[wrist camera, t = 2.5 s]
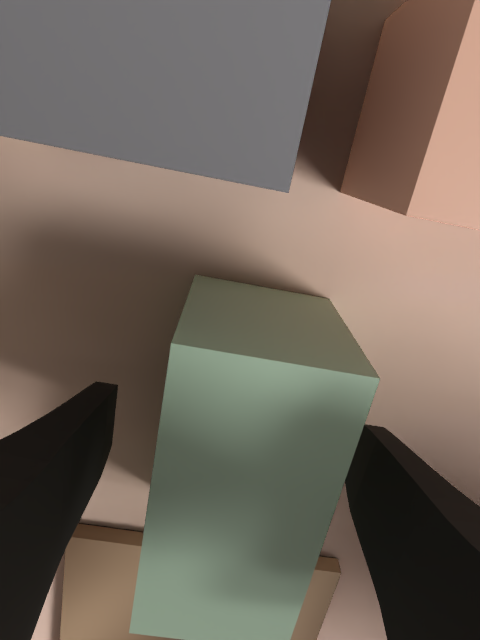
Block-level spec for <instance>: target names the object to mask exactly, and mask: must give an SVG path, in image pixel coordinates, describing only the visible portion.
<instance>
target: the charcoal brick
mask: <svg viewBox="0 0 480 640" xmlns="http://www.w3.org/2000/svg"><path fill="white" fill-rule="evenodd" d="M330 3H331V0H0V136H4V137H9V138H14V139H19V140H24V141H29V142H34V143H39V144H44V145H49V146H54V147H59V148H64V149H69V150H74V151H79V152H84V153H90V154H95V155H100V156H105V157H110V158H115V159H120V160H125V161H130V162H135V163H140V164H145V165H150V166H155V167H160V168H165V169H170V170H175V171H180V172H185V173H190V174H195V175H200V176H205V177H211V178H216V179H221V180H226V181H231V182H236V183H241V184H246V185H251V186H256V187H261V188H266V189H271V190H276V191H281V192H286V193H289V188H290V184H291V179H292V175H293V170H294V166H295V161H296V157H297V152H298V148H299V143H300V139H301V134H302V130H303V125H304V121H305V116H306V112H307V107H308V103H309V98H310V94H311V89H312V84H313V80H314V75H315V71H316V66H317V62H318V57H319V53H320V48H321V44H322V39H323V35H324V30H325V26H326V21H327V17H328V12H329V8H330Z"/></svg>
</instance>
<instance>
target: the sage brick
mask: <svg viewBox="0 0 480 640" xmlns="http://www.w3.org/2000/svg"><path fill="white" fill-rule="evenodd" d="M379 380H380V378H379V376H378V374H377V373H376V371H375V370H374V368H373V367H372V365H371V364H370V362H369V360H368V359H367V357H366V356H365V354H364V353H363V351H362V349H361V348H360V346H359V345H358V343H357V342H356V340H355V338H354V337H353V335H352V334H351V332H350V331H349V329H348V327H347V326H346V324H345V323H344V321H343V320H342V318H341V317H340V315H339V313H338V312H337V310H336V309H335V307H334V306H333V304H332V302H331V301H330V299H327V298H322V297H316V296H311V295H305V294H300V293H294V292H289V291H283V290H278V289H272V288H267V287H261V286H256V285H250V284H245V283H239V282H234V281H228V280H223V279H217V278H212V277H206V276H200V275H195V277H194V280H193V282H192V285H191V288H190V291H189V294H188V297H187V299H186V302H185V305H184V308H183V311H182V314H181V317H180V319H179V322H178V325H177V328H176V331H175V334H174V336H173V339H172V342H171V347H170V354H169V361H168V368H167V375H166V382H165V389H164V395H163V402H162V409H161V416H160V423H159V430H158V437H157V444H156V451H155V457H154V464H153V471H152V478H151V485H150V492H149V499H148V506H147V512H146V519H145V526H144V533H143V540H142V547H141V554H140V561H139V568H138V574H137V581H136V588H135V595H134V602H133V609H132V616H131V623H130V629H129V633H132V634H141V635H149V636H157V637H166V638H174V639H182V640H290V639H291V636H292V633H293V630H294V627H295V625H296V622H297V619H298V616H299V613H300V610H301V607H302V604H303V601H304V598H305V595H306V593H307V590H308V587H309V584H310V581H311V578H312V575H313V572H314V569H315V566H316V564H317V561H318V558H319V555H320V552H321V549H322V546H323V543H324V540H325V537H326V534H327V532H328V529H329V526H330V523H331V520H332V517H333V514H334V511H335V508H336V505H337V503H338V500H339V497H340V494H341V491H342V488H343V485H344V482H345V479H346V476H347V473H348V471H349V468H350V465H351V462H352V459H353V456H354V453H355V450H356V447H357V444H358V442H359V439H360V436H361V433H362V430H363V427H364V424H365V421H366V418H367V415H368V412H369V410H370V407H371V404H372V401H373V398H374V395H375V392H376V389H377V386H378V383H379Z"/></svg>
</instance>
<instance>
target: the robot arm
mask: <svg viewBox="0 0 480 640" xmlns="http://www.w3.org/2000/svg"><path fill="white" fill-rule="evenodd" d="M117 389H118V385H114V384H108V383H102V382H95V383H93V384H92V385H90V386H89V387H87V388H86V389H84V390H83V391H81V392H80V393H78V394H77V395H75V396H74V397H72V398H71V399H69V400H68V401H67V402H65V403H64V404H62V405H60V406H59V407H57V408H56V409H54V410H53V411H51V412H50V413H48V414H46V415H45V416H43V417H41V418H40V419H38V420H36V421H34V422H33V423H31V424H29V425H27V426H26V427H24V428H22V429H20V430H19V431H17V432H15V433H13V434H11V435H9V436H7V437H5V438H3V439H1V440H0V640H31V638H32V635H33V632H34V630H35V627H36V624H37V621H38V619H39V616H40V613H41V610H42V608H43V605H44V602H45V599H46V597H47V594H48V592H49V589H50V586H51V584H52V581H53V578H54V576H55V573H56V570H57V568H58V565H59V563H60V560H61V558H62V556H63V554H64V551H65V549H66V547H67V545H68V543H69V541H70V539H71V537H72V535H73V533H74V531H75V529H76V527H77V525H78V523H79V521H80V518H81V516H82V514H83V512H84V510H85V508H86V506H87V504H88V502H89V500H90V498H91V496H92V494H93V492H94V490H95V488H96V486H97V484H98V482H99V479H100V477H101V475H102V472H103V469H104V466H105V464H106V461H107V458H108V455H109V452H110V449H111V446H112V438H113V428H114V418H115V408H116V399H117ZM345 484H346V491H347V497H348V502H349V507H350V512H351V515H352V519H353V522H354V525H355V528H356V532H357V535H358V538H359V541H360V544H361V547H362V550H363V553H364V556H365V559H366V562H367V565H368V568H369V571H370V575H371V578H372V581H373V584H374V587H375V590H376V594H377V597H378V601H379V604H380V608H381V613H382V617H383V622H384V626H385V631H386V636H387V640H480V507H479V506H478V505H477V504H475V503H474V502H473V501H471V500H470V499H469V498H467V497H466V496H465V495H464V494H462V493H461V492H460V491H459V490H457V489H456V488H455V487H454V486H452V485H451V484H450V483H449V482H447V481H446V480H445V479H444V478H443V477H441V476H440V475H439V474H438V473H437V472H436V471H434V470H433V469H432V468H431V467H430V466H429V465H428V464H426V463H425V462H424V461H423V460H422V459H421V458H420V457H418V456H417V455H416V454H415V453H414V452H413V451H412V450H410V449H409V448H408V447H407V446H406V445H405V444H404V443H402V442H401V441H400V440H399V439H398V438H397V437H395V436H394V435H393V434H392V433H391V432H389V431H388V430H387V429H385V428H384V427H378V426H372V425H365V424H364V427H363V430H362V433H361V436H360V439H359V442H358V444H357V447H356V450H355V453H354V456H353V459H352V462H351V465H350V468H349V471H348V473H347V476H346V479H345Z"/></svg>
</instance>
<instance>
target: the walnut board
mask: <svg viewBox="0 0 480 640" xmlns="http://www.w3.org/2000/svg"><path fill="white" fill-rule="evenodd" d="M143 533H144V532H137V531H129V530H122V529H115V528H107V527H100V526H93V525H85V524H78V525H77V527H76V529H75V531H74V533H73V535H72V537H71V539H70V541H69V543H68V545H67V547H66V549H65V563H64V579H63V595H62V612H61V628H60V640H182V639H174V638H166V637H157V636H149V635H141V634H132V633H129V629H130V623H131V616H132V609H133V602H134V595H135V588H136V581H137V574H138V568H139V561H140V554H141V547H142V540H143ZM340 575H341V570H340V566H339V562H338V559H335V558H327V557H320V556H319V558H318V561H317V564H316V566H315V569H314V572H313V575H312V578H311V581H310V584H309V587H308V590H307V593H306V595H305V598H304V601H303V604H302V607H301V610H300V613H299V616H298V619H297V622H296V625H295V627H294V630H293V633H292V636H291V639H290V640H316V639H317V636H318V634H319V631H320V629H321V626H322V623H323V621H324V618H325V615H326V613H327V610H328V607H329V605H330V602H331V599H332V597H333V594H334V591H335V589H336V586H337V583H338V581H339V578H340Z"/></svg>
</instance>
